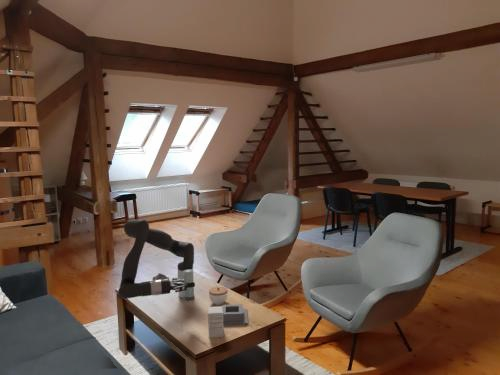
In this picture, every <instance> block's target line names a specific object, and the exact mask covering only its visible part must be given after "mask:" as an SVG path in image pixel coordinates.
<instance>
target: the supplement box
mask: <svg viewBox="0 0 500 375" xmlns="http://www.w3.org/2000/svg"><path fill="white" fill-rule="evenodd" d="M207 322H208V323H207V324H208V325H207V326H208V338H209V339H211V338H224V336H225V335H224V326H223V307H222V305H217V306H208V307H207Z"/></svg>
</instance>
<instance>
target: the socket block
mask: <svg viewBox="0 0 500 375" xmlns="http://www.w3.org/2000/svg"><path fill="white" fill-rule="evenodd" d="M221 306H222V307H223V327H224V326H227V327H228V326H244V325H243V324H248V325H249V320H248V310H247V309H248V308H243V304H221Z"/></svg>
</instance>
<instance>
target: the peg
mask: <svg viewBox="0 0 500 375" xmlns="http://www.w3.org/2000/svg"><path fill="white" fill-rule="evenodd" d="M183 276H184V283H193V282H194V283H195V280H194V269H193V270H191V269H188V270H184V271H183ZM183 299H184V301H186V302H190V301H191V302H192V301H194V300H195V287H190V288H187V290H185V291H184V298H183Z"/></svg>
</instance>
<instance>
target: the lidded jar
mask: <svg viewBox="0 0 500 375" xmlns="http://www.w3.org/2000/svg"><path fill="white" fill-rule="evenodd" d="M208 295H209V299H210V301H211V302H212V303H213V305H216V306H222V305H224V304H225V302H226V301H227V299H228V288H227V287H225V286H213V287H211V288H209V290H208Z"/></svg>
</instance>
